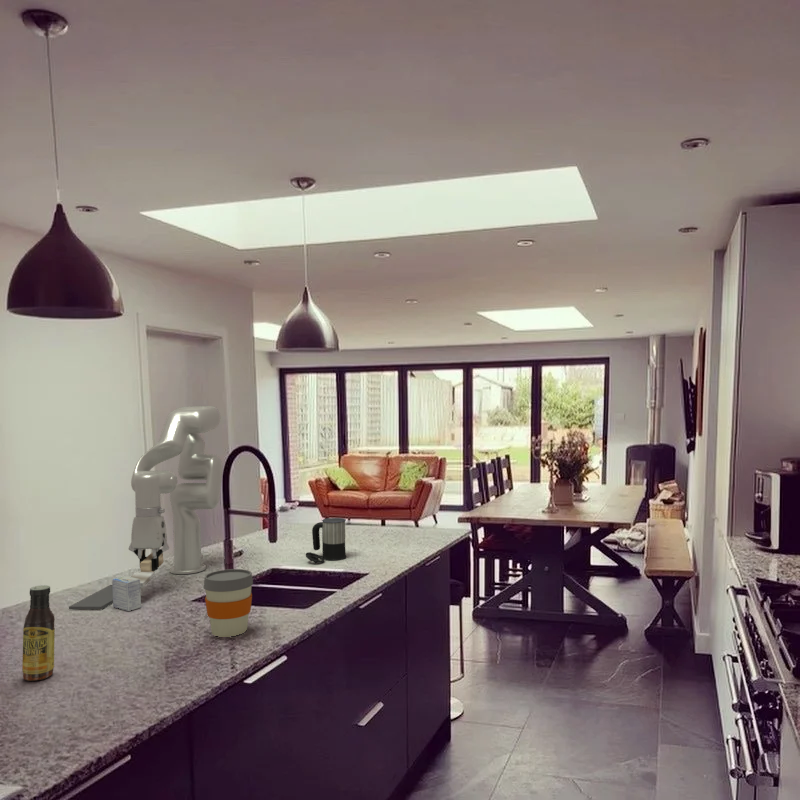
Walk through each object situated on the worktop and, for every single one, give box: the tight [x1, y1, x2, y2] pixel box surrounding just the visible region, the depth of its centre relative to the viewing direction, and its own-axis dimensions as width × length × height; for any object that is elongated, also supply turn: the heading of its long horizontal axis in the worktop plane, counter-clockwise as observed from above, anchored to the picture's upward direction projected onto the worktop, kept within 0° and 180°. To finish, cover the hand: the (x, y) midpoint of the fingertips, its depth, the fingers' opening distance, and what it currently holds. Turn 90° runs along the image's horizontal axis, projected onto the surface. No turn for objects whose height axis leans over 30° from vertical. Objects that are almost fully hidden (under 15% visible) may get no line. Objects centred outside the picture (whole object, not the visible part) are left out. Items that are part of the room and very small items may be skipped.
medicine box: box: [111, 575, 142, 612], centre depth 200 cm, size 8×4×9 cm, turn 55°
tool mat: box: [68, 584, 113, 610], centre depth 211 cm, size 24×10×1 cm, turn 175°
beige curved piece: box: [130, 552, 164, 588], centre depth 213 cm, size 18×6×4 cm, turn 175°
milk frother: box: [305, 517, 347, 564], centre depth 256 cm, size 14×16×15 cm
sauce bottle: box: [21, 584, 56, 682], centre depth 150 cm, size 6×6×20 cm
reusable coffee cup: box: [203, 568, 254, 638], centre depth 177 cm, size 13×13×15 cm
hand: (149, 569), depth 215 cm, fingers closed on beige curved piece, 2 cm apart
